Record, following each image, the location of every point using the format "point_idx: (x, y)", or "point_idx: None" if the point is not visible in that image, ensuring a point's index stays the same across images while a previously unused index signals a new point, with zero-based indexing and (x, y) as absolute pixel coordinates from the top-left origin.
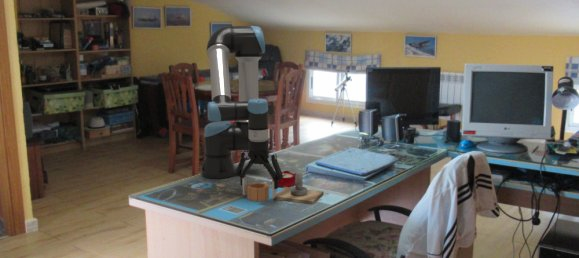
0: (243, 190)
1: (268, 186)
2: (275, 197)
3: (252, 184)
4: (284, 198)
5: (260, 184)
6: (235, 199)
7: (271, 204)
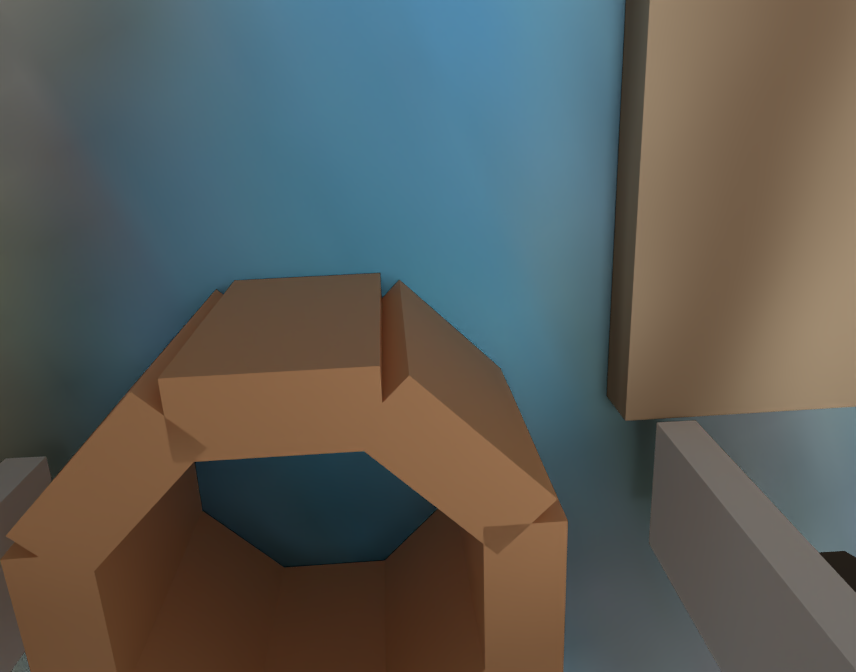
0: (13, 640)
1: (563, 533)
2: (660, 408)
3: (100, 590)
4: (841, 397)
5: (267, 442)
6: (18, 661)
7: (664, 619)
